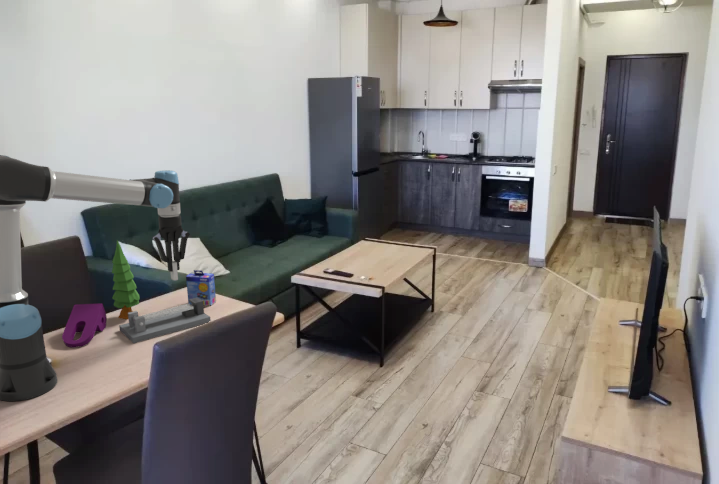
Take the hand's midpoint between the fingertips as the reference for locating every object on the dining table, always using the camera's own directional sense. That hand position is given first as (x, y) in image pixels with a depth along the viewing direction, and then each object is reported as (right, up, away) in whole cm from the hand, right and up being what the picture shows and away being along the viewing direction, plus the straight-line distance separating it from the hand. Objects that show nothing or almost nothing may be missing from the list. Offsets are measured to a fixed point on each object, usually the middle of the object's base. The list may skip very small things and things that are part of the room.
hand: (174, 279), depth 195 cm
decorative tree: (-21, -15, +10) cm, 27 cm away
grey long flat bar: (-4, -13, 0) cm, 14 cm away
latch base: (-4, -17, +1) cm, 17 cm away
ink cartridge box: (+3, -12, +24) cm, 26 cm away
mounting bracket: (-29, -20, -7) cm, 36 cm away
